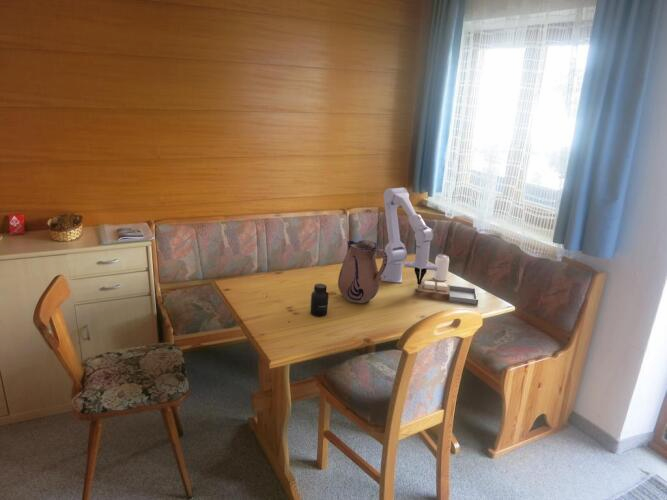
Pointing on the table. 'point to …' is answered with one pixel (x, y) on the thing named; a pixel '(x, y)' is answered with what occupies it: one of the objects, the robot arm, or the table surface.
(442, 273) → the can
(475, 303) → the tray
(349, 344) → the table surface
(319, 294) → the supplement bottle
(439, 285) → the tile
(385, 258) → the ceramic pitcher
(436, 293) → the brown board
